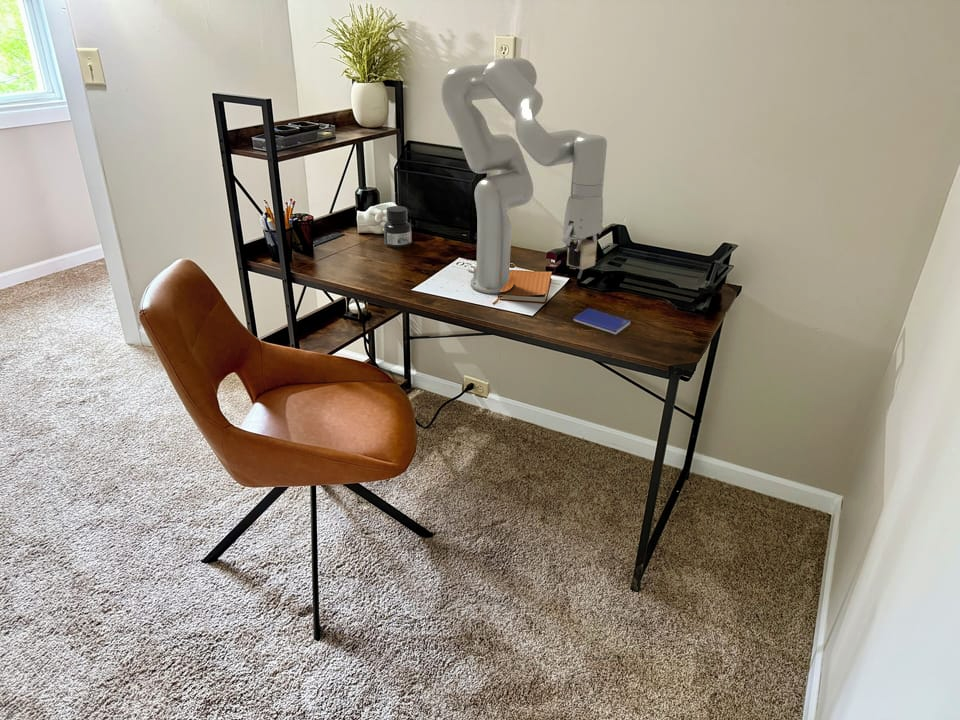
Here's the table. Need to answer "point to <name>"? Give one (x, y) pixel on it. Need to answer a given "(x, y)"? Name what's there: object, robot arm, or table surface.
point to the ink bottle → (397, 227)
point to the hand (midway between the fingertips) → (581, 262)
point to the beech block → (586, 254)
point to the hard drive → (602, 321)
